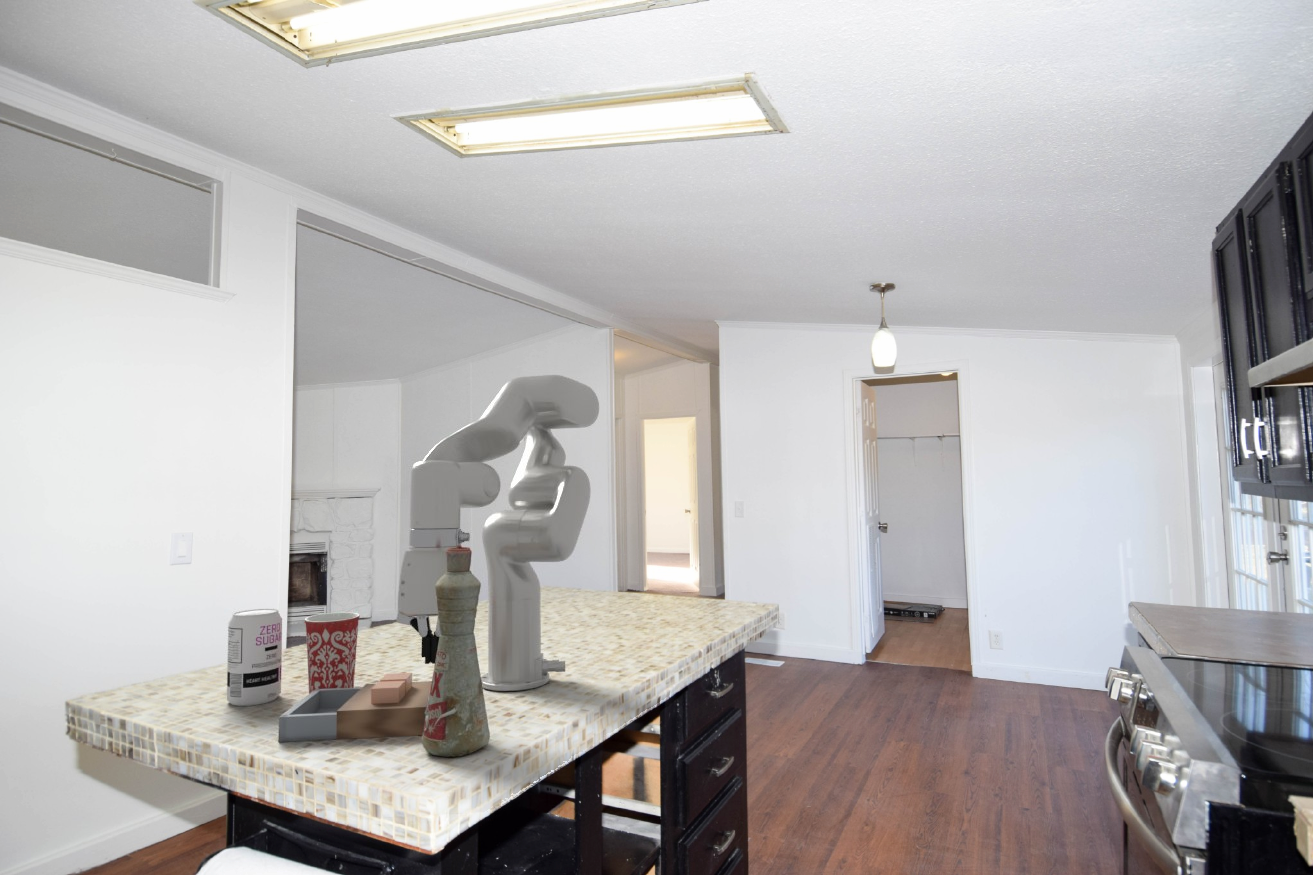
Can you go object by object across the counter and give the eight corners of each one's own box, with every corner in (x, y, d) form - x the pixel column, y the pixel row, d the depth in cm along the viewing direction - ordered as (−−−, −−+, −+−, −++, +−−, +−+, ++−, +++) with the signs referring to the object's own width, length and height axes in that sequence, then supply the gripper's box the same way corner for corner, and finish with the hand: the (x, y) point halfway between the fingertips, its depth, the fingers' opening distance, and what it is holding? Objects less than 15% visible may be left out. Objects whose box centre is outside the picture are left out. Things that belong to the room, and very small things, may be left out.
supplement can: (240, 694, 133) (241, 608, 134) (288, 692, 134) (289, 607, 134) (217, 708, 125) (219, 616, 126) (268, 705, 125) (270, 615, 126)
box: (366, 708, 123) (366, 686, 123) (336, 739, 108) (336, 714, 108) (315, 710, 122) (315, 689, 122) (278, 742, 107) (278, 717, 107)
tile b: (412, 686, 121) (412, 672, 121) (406, 693, 117) (406, 678, 117) (386, 687, 120) (386, 673, 121) (380, 694, 117) (380, 680, 117)
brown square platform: (447, 705, 124) (447, 680, 124) (428, 734, 109) (428, 706, 110) (366, 708, 123) (366, 683, 123) (336, 739, 108) (336, 710, 108)
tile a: (404, 695, 116) (405, 680, 116) (398, 702, 112) (398, 687, 112) (378, 696, 116) (378, 681, 116) (371, 703, 112) (371, 688, 112)
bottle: (485, 758, 99) (484, 545, 101) (415, 761, 99) (416, 547, 100) (494, 736, 108) (493, 541, 110) (429, 739, 107) (430, 542, 109)
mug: (354, 698, 129) (355, 619, 130) (297, 702, 127) (298, 622, 128) (366, 680, 141) (367, 607, 142) (315, 683, 140) (316, 610, 140)
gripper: (487, 539, 120) (485, 656, 118) (391, 540, 119) (388, 658, 117) (480, 541, 113) (478, 665, 111) (378, 542, 111) (374, 668, 110)
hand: (432, 661), depth 114 cm, fingers closed
